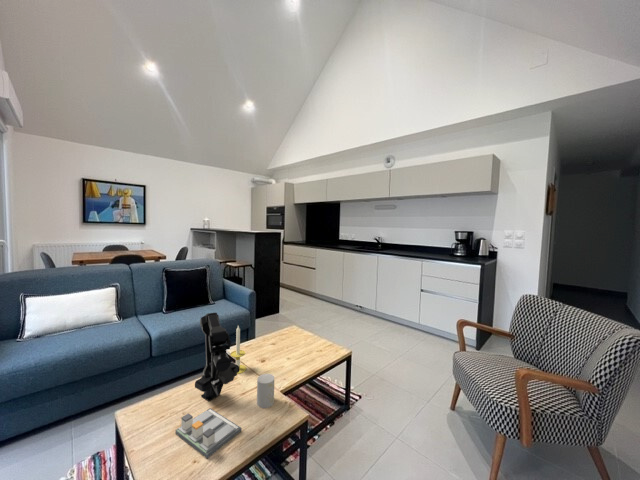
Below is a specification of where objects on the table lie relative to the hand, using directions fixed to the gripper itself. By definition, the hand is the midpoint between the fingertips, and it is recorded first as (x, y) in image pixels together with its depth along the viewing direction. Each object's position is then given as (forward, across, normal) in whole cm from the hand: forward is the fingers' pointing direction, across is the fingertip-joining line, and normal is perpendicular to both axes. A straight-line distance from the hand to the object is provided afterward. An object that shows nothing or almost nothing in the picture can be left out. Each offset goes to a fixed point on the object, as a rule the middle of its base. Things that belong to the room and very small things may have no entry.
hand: (218, 395), depth 116 cm
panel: (+12, -6, -2) cm, 14 cm away
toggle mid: (+10, -11, -2) cm, 15 cm away
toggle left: (+10, -11, +5) cm, 15 cm away
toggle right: (+10, -11, -9) cm, 17 cm away
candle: (+12, +33, +26) cm, 44 cm away
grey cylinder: (+12, +21, -8) cm, 26 cm away
